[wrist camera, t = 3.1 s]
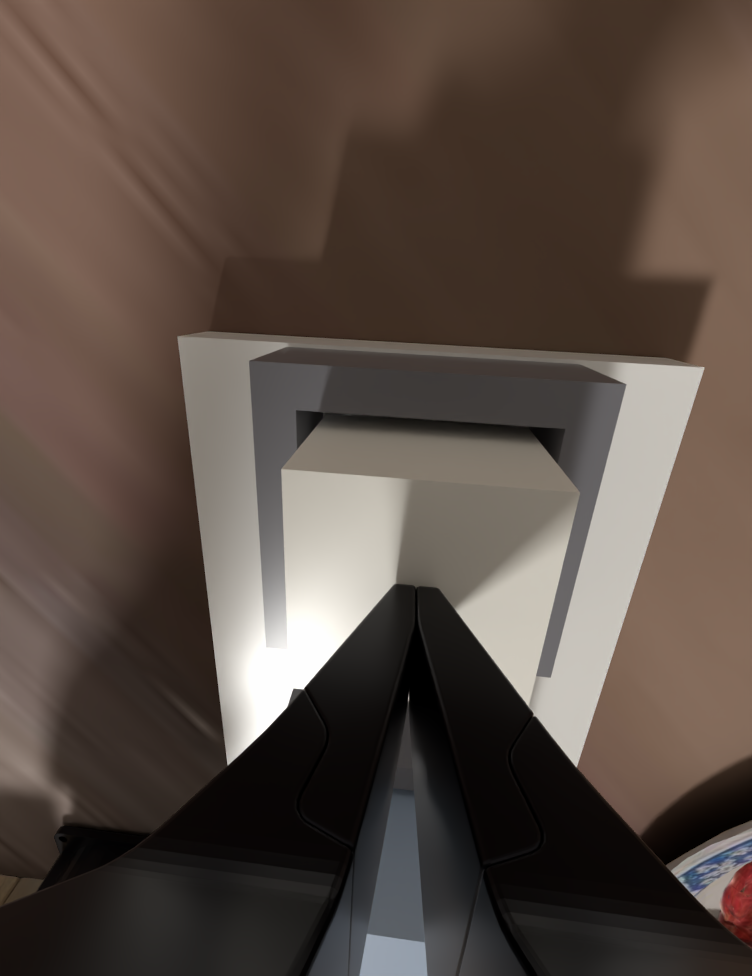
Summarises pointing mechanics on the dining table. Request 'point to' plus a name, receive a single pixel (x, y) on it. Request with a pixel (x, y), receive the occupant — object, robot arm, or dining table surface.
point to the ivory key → (423, 533)
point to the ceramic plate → (722, 878)
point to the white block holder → (440, 398)
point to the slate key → (397, 899)
